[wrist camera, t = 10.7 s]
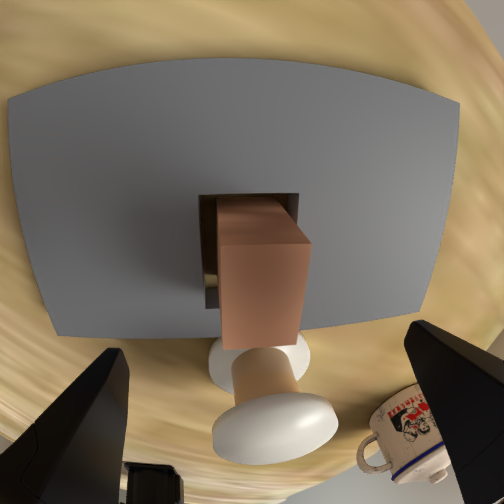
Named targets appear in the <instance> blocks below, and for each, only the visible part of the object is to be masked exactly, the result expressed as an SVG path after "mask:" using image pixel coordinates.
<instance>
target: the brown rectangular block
mask: <svg viewBox="0 0 504 504" xmlns="http://www.w3.org/2000/svg"><path fill="white" fill-rule="evenodd" d="M311 247H312V243H311V242H310V241H309V239H308V238H307V237H306V236H305V234H304V233H303V232H302V231H301V229H300V228H299V227H298V226H297V224H296V223H295V222H294V221H293V219H292V218H291V217H290V216H289V214H288V213H287V212H286V211H285V210H284V208H283V207H282V206H281V205H280V203H279V202H278V201H277V200H276V199H275V198H217V278H218V294H219V308H220V321H221V334H222V346H223V350H232V349H250V348H264V347H276V346H288V345H296V343H297V338H298V332H299V326H300V321H301V315H302V309H303V302H304V296H305V289H306V283H307V276H308V269H309V262H310V254H311Z"/></svg>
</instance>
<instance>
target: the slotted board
mask: <svg viewBox="0 0 504 504" xmlns="http://www.w3.org/2000/svg"><path fill="white" fill-rule="evenodd" d="M459 113H460V103H458V102H455V101H453V100H450V99H448V98H445V97H443V96H440V95H437V94H434V93H432V92H429V91H426V90H423V89H420V88H417V87H414V86H411V85H407V84H404V83H401V82H397V81H394V80H390V79H386V78H382V77H378V76H374V75H370V74H366V73H361V72H357V71H352V70H347V69H342V68H336V67H330V66H324V65H317V64H310V63H302V62H293V61H283V60H271V59H253V58H200V59H182V60H170V61H160V62H151V63H143V64H136V65H129V66H123V67H118V68H112V69H107V70H102V71H97V72H93V73H89V74H84V75H80V76H76V77H73V78H69V79H65V80H62V81H58V82H55V83H52V84H48V85H45V86H42V87H39V88H36V89H33V90H31V91H28V92H25V93H22V94H20V95H17V96H15V97H12V98H10V99H8V133H9V149H10V161H11V170H12V178H13V185H14V192H15V198H16V203H17V209H18V214H19V219H20V223H21V228H22V232H23V236H24V240H25V244H26V248H27V252H28V255H29V259H30V262H31V266H32V269H33V272H34V275H35V278H36V281H37V284H38V287H39V290H40V293H41V296H42V299H43V301H44V304H45V307H46V309H47V312H48V314H49V317H50V319H51V322H52V324H53V326H54V329H55V331H56V333H57V335H58V336H71V337H89V338H115V339H182V338H210V337H222V334H221V321H220V308H219V294H218V288H212V289H205V276H204V262H203V246H202V228H201V207H200V195H209V194H241V193H288V200H287V213H288V214H289V216H290V217H291V218H292V219H293V221H294V222H295V223H296V224H297V226H298V227H299V228H300V229H301V231H302V232H303V233H304V234H305V236H306V237H307V238H308V239H309V241H310V242H311V243H312V247H311V254H310V262H309V269H308V276H307V283H306V289H305V296H304V302H303V309H302V315H301V321H300V326H299V330H308V329H316V328H324V327H332V326H339V325H346V324H353V323H359V322H366V321H372V320H378V319H383V318H389V317H394V316H400V315H405V314H410V313H415V312H419V311H420V308H421V306H422V303H423V300H424V297H425V294H426V291H427V288H428V285H429V282H430V279H431V276H432V272H433V269H434V265H435V262H436V258H437V255H438V251H439V247H440V243H441V239H442V235H443V231H444V227H445V222H446V217H447V213H448V208H449V202H450V197H451V191H452V185H453V178H454V171H455V163H456V155H457V145H458V132H459Z"/></svg>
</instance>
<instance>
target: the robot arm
mask: <svg viewBox="0 0 504 504" xmlns="http://www.w3.org/2000/svg"><path fill="white" fill-rule="evenodd" d="M404 347H405V350H406V352H407V355H408V358H409V360H410V363H411V366H412V368H413V371H414V374H415V377H416V379H417V382H418V384H419V387H420V389H421V391H422V393H423V395H424V398H425V400H426V402H427V404H428V407H429V409H430V411H431V413H432V416H433V418H434V420H435V423H436V425H437V428H438V430H439V433H440V435H441V437H442V440H443V443H444V445H445V448H446V450H447V453H448V456H449V458H450V461H451V463H452V466H453V469H454V472H455V475H456V478H457V481H458V484H459V488H460V491H461V494H462V497H463V500H464V503H465V504H493V503H495V502H496V501H498V500H499V499H501V498H503V497H504V360H502V359H499V358H498V357H496V356H494V355H492V354H490V353H488V352H486V351H484V350H482V349H480V348H478V347H476V346H474V345H472V344H470V343H468V342H467V341H465V340H463V339H461V338H459V337H457V336H455V335H453V334H451V333H449V332H447V331H445V330H443V329H441V328H439V327H437V326H435V325H433V324H431V323H429V322H427V321H425V320H417V321H413V322H412V323H411V324H410V326H409V329H408V331H407V334H406V336H405V339H404ZM129 377H130V372H129V367H128V364H127V361H126V359H125V356H124V353H123V351H122V349H120V348H107V349H106V350H105V351H104V352H103V353H102V354H101V355H100V356H99V357H98V358H96V359H95V360H94V361H93V362H92V363H91V364H90V365H89V366H88V367H87V368H86V369H85V370H84V371H83V372H82V373H81V374H80V375H79V376H78V377H77V378H76V379H75V380H74V381H73V382H72V383H71V384H70V385H69V386H68V387H67V388H66V389H65V390H64V391H63V392H62V393H61V395H60V396H59V397H58V398H57V399H56V400H55V401H54V402H53V403H52V404H51V405H50V406H49V407H48V408H47V409H46V410H45V411H44V412H43V413H42V414H41V415H40V416H39V417H38V418H37V419H36V420H35V424H34V423H32V424H31V426H30V427H29V428H28V429H27V430H26V431H25V432H24V433H23V434H22V435H21V436H20V437H19V438H18V439H17V440H16V441H15V442H14V443H13V444H12V445H11V446H10V447H8V448H7V449H6V450H5V451H4V452H3V453H2V454H0V504H118V502H119V488H120V476H121V466H122V457H123V449H124V441H125V433H126V426H127V417H128V393H129ZM124 467H125V468H126V469H127V470H128V482H127V496H126V504H184V487H183V480H182V478H181V476H180V475H178V474H177V472H176V470H175V469H174V467H171V466H155V465H142V464H131V463H124ZM120 504H124V503H122V502H120ZM498 504H504V499H503V500H501V501H500V502H499V503H498Z"/></svg>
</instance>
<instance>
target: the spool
mask: <svg viewBox="0 0 504 504" xmlns="http://www.w3.org/2000/svg"><path fill="white" fill-rule="evenodd" d="M309 362H310V351H309V348H308V346H307V343H306V341H305V339H304V337H303V335H302V333H301V332H300V331H299V332H298V338H297V343H296V345H288V346H276V347H264V348H250V349H232V350H223V346H222V337H218V338H217V339H216V340H215V341H214V343H213V344H212V346H211V348H210V351H209V373H210V376H211V379H212V380H213V382H214V383H215V384H216V385H217V386H218V387H219V388H221V389H222V390H224V391H226V392H228V393H231V394H234V398H235V406H234V407H233V408H231V409H229V410H227V411H226V412H224V413H223V414H222V415H221V416H220V417H218V419H217V420H216V421H215V423H214V424H213V427H212V438H213V448H214V451H215V452H216V453H217V454H218V455H219V456H220V457H222V458H224V459H226V460H228V461H231V462H235V463H240V464H249V465H263V464H273V463H279V462H284V461H288V460H292V459H295V458H298V457H301V456H303V455H306V454H308V453H310V452H312V451H314V450H316V449H317V448H319V447H321V446H322V445H324V444H325V443H326V442H327V441H328V440H330V439H331V438H332V436H333V435H334V434H335V432H336V431H337V428H338V419H337V417H336V414H335V412H334V409H333V407H332V405H331V403H330V402H329V401H328V400H326V399H325V398H323V397H321V396H318V395H315V394H309V393H300V392H299V389H298V386H297V383H296V381H297V380H299V379H300V378H301V377H302V375H303V374H304V373H305V371H306V370H307V368H308V365H309Z"/></svg>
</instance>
